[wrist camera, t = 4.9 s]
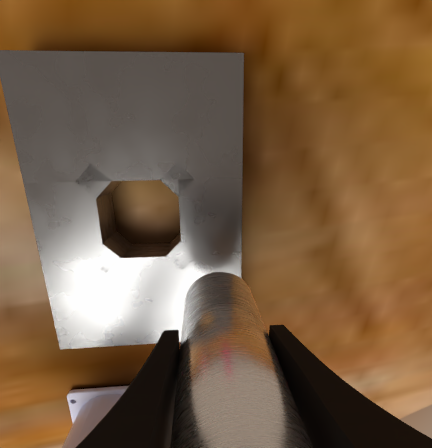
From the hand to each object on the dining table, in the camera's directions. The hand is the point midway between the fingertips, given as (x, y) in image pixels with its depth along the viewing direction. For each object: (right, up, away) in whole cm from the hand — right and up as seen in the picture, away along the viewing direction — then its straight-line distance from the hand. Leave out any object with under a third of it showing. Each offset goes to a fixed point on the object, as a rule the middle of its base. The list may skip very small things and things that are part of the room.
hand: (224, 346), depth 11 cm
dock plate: (-6, +6, +9) cm, 12 cm away
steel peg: (0, +1, +3) cm, 4 cm away
